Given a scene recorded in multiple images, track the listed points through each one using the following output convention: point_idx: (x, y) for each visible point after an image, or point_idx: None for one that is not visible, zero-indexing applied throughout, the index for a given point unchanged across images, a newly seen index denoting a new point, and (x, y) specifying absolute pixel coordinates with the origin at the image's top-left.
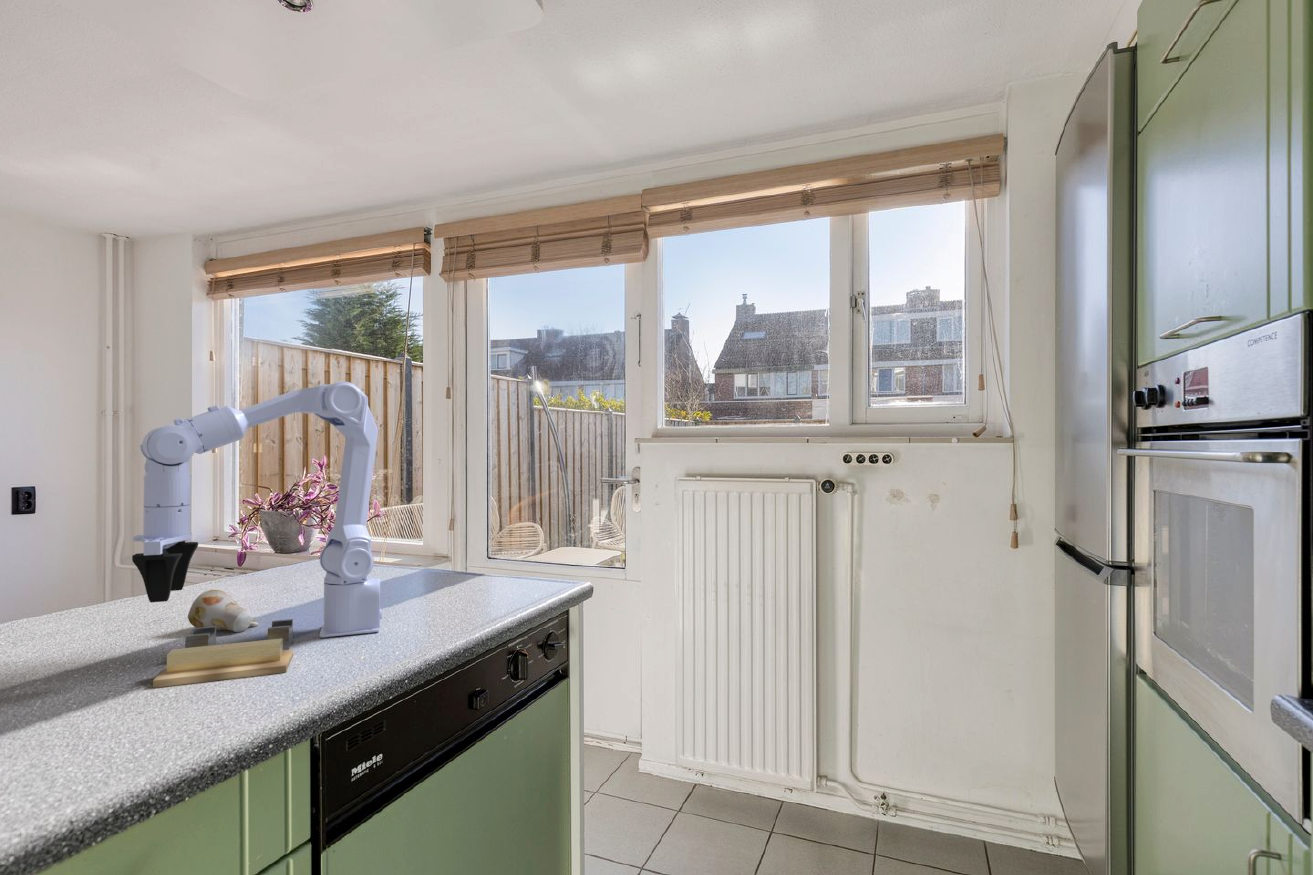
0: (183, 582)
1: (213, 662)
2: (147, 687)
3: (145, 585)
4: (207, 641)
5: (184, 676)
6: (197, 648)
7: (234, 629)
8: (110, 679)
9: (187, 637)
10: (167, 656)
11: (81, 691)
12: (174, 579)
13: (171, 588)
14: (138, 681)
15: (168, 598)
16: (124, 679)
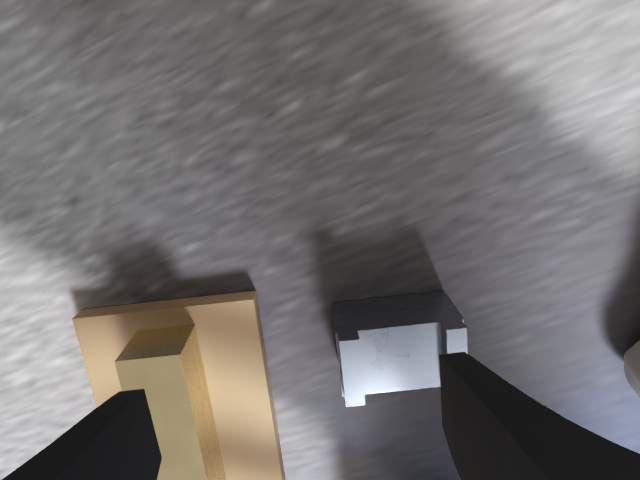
0: (458, 470)
1: None
2: (91, 292)
3: (35, 457)
4: (341, 389)
5: (95, 388)
6: (173, 426)
7: (624, 357)
8: (190, 149)
9: (340, 345)
10: (117, 360)
11: (84, 113)
12: (467, 443)
13: (446, 389)
14: (152, 244)
15: (157, 467)
16: (180, 194)
